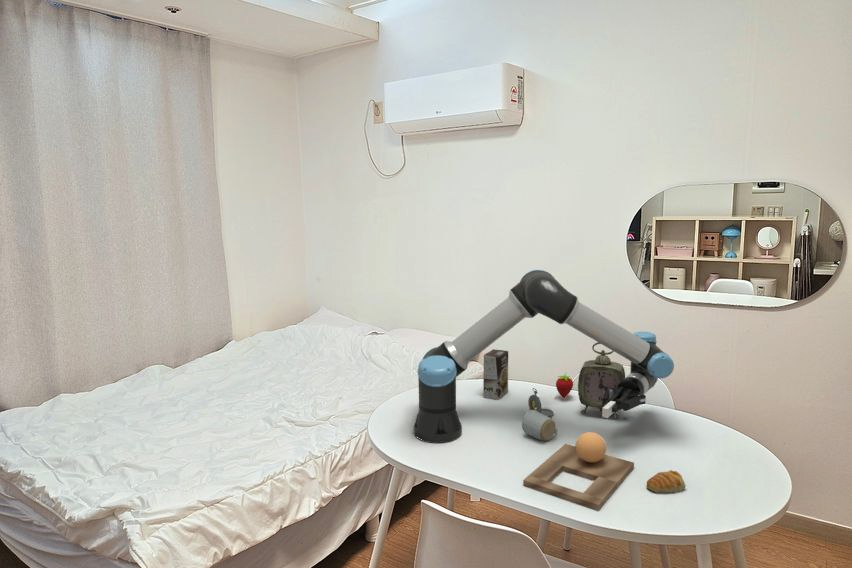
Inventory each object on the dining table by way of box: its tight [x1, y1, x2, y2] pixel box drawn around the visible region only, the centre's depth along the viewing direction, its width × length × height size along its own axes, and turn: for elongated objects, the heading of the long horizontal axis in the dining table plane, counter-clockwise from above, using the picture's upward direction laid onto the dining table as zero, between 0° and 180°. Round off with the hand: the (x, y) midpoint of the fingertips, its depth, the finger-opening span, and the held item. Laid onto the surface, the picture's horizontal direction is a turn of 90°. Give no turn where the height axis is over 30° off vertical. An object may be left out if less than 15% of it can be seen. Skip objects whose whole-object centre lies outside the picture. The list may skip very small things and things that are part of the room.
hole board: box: [522, 443, 635, 511], centre depth 154 cm, size 20×26×2 cm
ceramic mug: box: [521, 409, 559, 442], centre depth 179 cm, size 11×8×8 cm
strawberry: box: [555, 372, 574, 399], centre depth 209 cm, size 6×8×10 cm
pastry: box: [646, 469, 686, 494], centre depth 148 cm, size 9×7×4 cm
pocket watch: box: [527, 388, 554, 418], centre depth 194 cm, size 8×8×10 cm
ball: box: [575, 431, 607, 463], centre depth 159 cm, size 8×8×8 cm
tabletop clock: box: [577, 341, 626, 420], centre depth 193 cm, size 14×9×25 cm, turn 67°
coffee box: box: [482, 348, 509, 400], centre depth 213 cm, size 9×6×16 cm
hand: (604, 413), depth 164 cm, fingers closed
